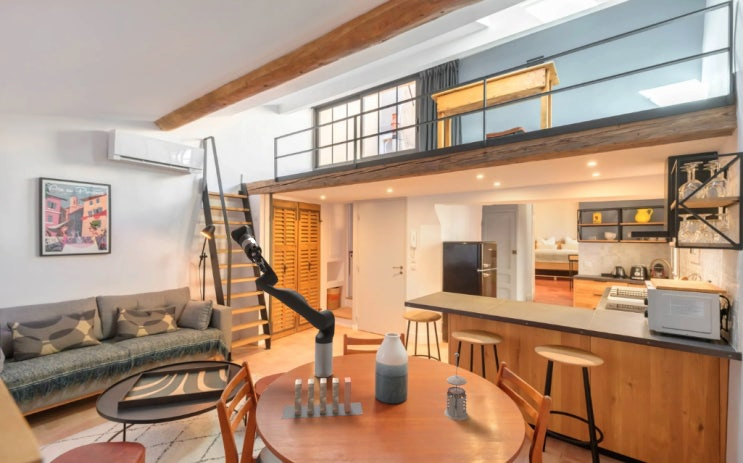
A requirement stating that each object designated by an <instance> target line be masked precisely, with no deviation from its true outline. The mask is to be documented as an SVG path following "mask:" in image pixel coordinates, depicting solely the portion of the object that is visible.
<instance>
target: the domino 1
mask: <svg viewBox="0 0 743 463" xmlns="http://www.w3.org/2000/svg"><path fill="white" fill-rule="evenodd" d="M294 382H295V384H294V406H295V414H294V415H298V414H301V406H302V405H303V404H302V402H303V401H302V398H303V396H302V393H303V390H302V389H303V380H302V378H300V379H295V381H294Z"/></svg>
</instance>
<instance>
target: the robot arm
mask: <svg viewBox="0 0 743 463" xmlns="http://www.w3.org/2000/svg"><path fill="white" fill-rule="evenodd" d="M230 236H231V239H232V240H233V241H234V242H235V243H237V244H238V245H239V247H241V249H242V251H243V252H244V254H245V255H246V257H247V259H249V260H250V261H251V262H252V263H254V264H256V267H257V268H258V270H259V271H260V273H261V272H262V274H261V275H260V276H258V277H257V278H256V279H255V284H256V286H257V288H259V289H260V290H261V291H263V292H265V293H266V294H268V295H270V296H271V297H273V298H275V299H277V300H278V301H279V302H281V303H282V304H284V305H285V306H286V307H288V308H289V309H290V310H293V311H294V312H295V313H297V314H298V315H299V316H301V317H303V319H305V320H306V321H307V322H308V323H309V324H310V325H311V326H313V327H314V328H315V329H317V330H318V332H317V334H316V335H315V339H314V376H315V377H317V378H320V379H321V378H329V377H331V376H332V375H333V357H334V356H333V353H334V352H333V351H334V348H333V344H334V337H335V336H334V335H335V328H336V327H335V326H336V317H335V314H334V312H333V311H332V310H330V309H324V310H322V311H319V310H317V309H315V308H314V307H312V306H311V305H310V304H309V303H308V301H307V300H306V298H305V296H304V295H302V294H301V293H299V292H298V291H297V290H296V289H295V290H294V289H291V288H279V287H275V285H277V283H278V282H279V277H278V275H277V273H276V272H275V271H274V269H273V268H272V267H271V265H270V264H269V262H267V260H266V259H265V257H264V256H263V255H262V253H263V250H262V247H261V246H260V245H259V243H258V242H257V241H256V240H255V239H254V237H253V231H252V228H251V226H249V225H247V224H243V225H241V226H239V227H237V228H235V229H233V230H232V231H231V232H230Z"/></svg>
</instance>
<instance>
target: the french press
mask: <svg viewBox="0 0 743 463" xmlns="http://www.w3.org/2000/svg"><path fill="white" fill-rule="evenodd" d="M454 357H456V358H455V359H456V363H455V364H456V373H455V374H456V375H451V376H449V377H447V378H446V382H447V383H448V384H449V385H452V386H450V387H448V388H447V392H446V409H445V411H443V412H444V415H445V416H446V418H448V419H450V420H453V421H465V420H467V419H469V413H468V412H467V394H466V390H465V389H464V388H463V387H459V386H465V385H466V384H467V379H465V378H464V377H462V376H459V375H458V357H460V354H459V353H458V352H454Z"/></svg>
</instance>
